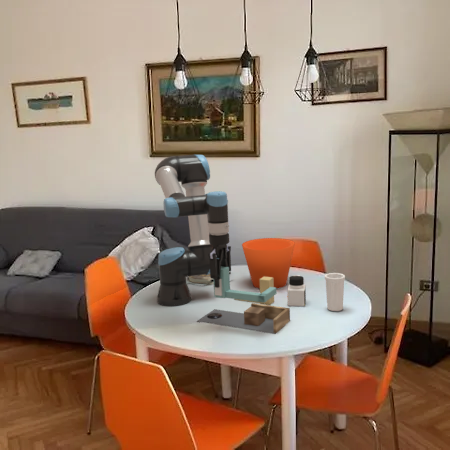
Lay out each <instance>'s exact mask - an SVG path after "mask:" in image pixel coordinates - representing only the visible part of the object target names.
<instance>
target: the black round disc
mask: <svg viewBox="0 0 450 450" xmlns="http://www.w3.org/2000/svg"><path fill="white" fill-rule="evenodd" d="M207 314H208V313H207ZM207 314H206V315H207ZM207 317H208V318H210V319H217V318H220V317H222V314H220V313H211V314H208V315H207Z"/></svg>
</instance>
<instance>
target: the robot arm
mask: <svg viewBox="0 0 450 450" xmlns="http://www.w3.org/2000/svg"><path fill="white" fill-rule="evenodd" d="M154 178H155V181H156V183H157V184H158V185H160V188H161V190H162V193H163V196H164V198H165V199H163V211H164V216H165V217H166V218H176V219H177V218H182V217H188V226H189V227H188V229H189V238H190V243H189V244H188V246H187V250H185V248H184V247H183V246H179V247H176V246H175V247H170V248H167V249H164V250H162V251H160V252H159V254H158V256H157V257H158V258H157V259H158V262H157V265H158V269H159V271H158V272H159V283H160V284H159V289H158V293H157V296H156V298H157V300H156V301H157V303H158V305H161V306H166V307H176V306H182V305H185V304H188V303H190V302H191V301H192V293H191V292H190V291H191V290H190V289H189V286H188V283H187V277H188V276H197V275H208V274H210V277H211V278H212V280H213V279H214V281H213V282H214V284H215V295H219V296H222V279H220V272H221V266H223V267H229V275H231V274H232V273H231V271H232V260H231V259H232V258H231V251H232V250H231V249H232V246H230V245H228V244H229V243H230V233H229V229H230V228H229V227H230V225H229V208H228V207H229V204H228V203H229V200H228V195H227V192H225V191H221V190H220V191H210V192H208V193H206V190H205V187H206V186H207V184H208V181H209V180H210V179H211V170H210V165H209V161H208V160H207V158H206V156H205V155H203V154H195V153H194V154H188V155H187V154H185V155H184V154H183V155H173V156H172V155H171V156H168V157H166V158H164V159H162V160H161V161H160V162H159V163H158V164H157V165H156V167H155V169H154ZM180 183H181V184H180ZM183 189H184V190H185V193H184V190H183ZM188 278H189V277H188ZM214 284H213V285H214Z"/></svg>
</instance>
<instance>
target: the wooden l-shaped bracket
mask: <svg viewBox="0 0 450 450" xmlns="http://www.w3.org/2000/svg"><path fill="white" fill-rule="evenodd" d="M250 307H257V308H264V309H265V318H267V319H273V327H274V333H276V334H278V333H279V332H280V331H281V330H282V329H283V328H284V327H285V326H286V325H287V324H288V323H289V322H290V321H291V309H290V307H284V306H283V307H282V306H275V305H265V304H260V303H255V302H251V304H250ZM280 329H281V330H280Z"/></svg>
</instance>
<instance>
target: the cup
mask: <svg viewBox="0 0 450 450" xmlns="http://www.w3.org/2000/svg"><path fill="white" fill-rule="evenodd" d="M324 279H325V290H326V291H325V292H326V304H327V308H326V309H327V310H328V311H332V312H340V311H342V310H343V308H344V294H345V293H344V290H345V280H346V275H345V274H343V273H340V272H330V273H326V274H324Z"/></svg>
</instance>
